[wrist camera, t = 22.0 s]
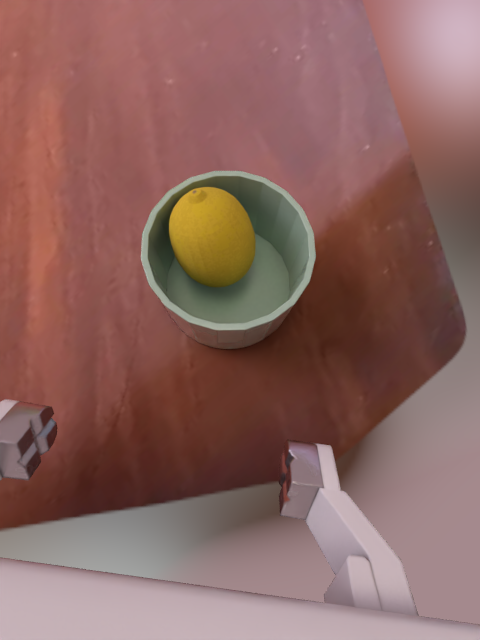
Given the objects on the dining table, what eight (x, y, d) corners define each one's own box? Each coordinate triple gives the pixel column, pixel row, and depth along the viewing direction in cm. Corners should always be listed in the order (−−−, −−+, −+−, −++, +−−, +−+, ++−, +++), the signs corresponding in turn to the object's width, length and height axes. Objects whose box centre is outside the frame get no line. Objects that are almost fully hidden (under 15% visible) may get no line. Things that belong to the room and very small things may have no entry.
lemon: (200, 253, 27) (161, 167, 21) (265, 249, 26) (246, 155, 19) (187, 309, 24) (138, 230, 18) (260, 307, 23) (236, 221, 16)
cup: (297, 347, 25) (322, 328, 18) (162, 350, 25) (137, 331, 18) (288, 226, 28) (308, 170, 21) (165, 227, 27) (145, 170, 20)
